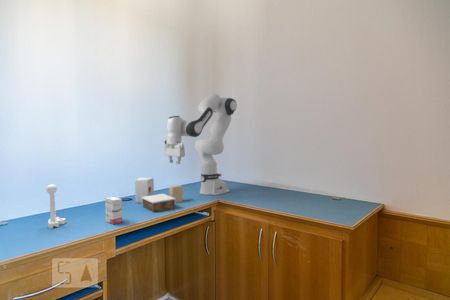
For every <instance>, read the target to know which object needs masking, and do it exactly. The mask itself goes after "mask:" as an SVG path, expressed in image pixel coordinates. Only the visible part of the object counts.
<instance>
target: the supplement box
mask: <svg viewBox="0 0 450 300" xmlns="http://www.w3.org/2000/svg"><path fill="white" fill-rule="evenodd" d="M154 179H155V178H154V177H138V178H135V179H134V191H135V192H134V196H135V197H134V199H135V203H137V204H138V203H140V204H143V199H142V197H145V196H152V195H155V187H154V186H155V184H154Z"/></svg>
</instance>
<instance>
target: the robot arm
mask: <svg viewBox="0 0 450 300" xmlns="http://www.w3.org/2000/svg"><path fill="white" fill-rule="evenodd" d="M237 105H238V104H237V101H236V100H235V99H234V98H232V97H220V95H219V94H218V93H211V94H209V95H207V96H206V97H204V99H202V100H201V101H200V103H199V104H198V105H197V110H198V112H199V114H200V115H199V116H198V117H197V118H196V119H195V120H191V121H189V120H188V121H186V120H184V119H183V118H182V117H181V116H180V115H172V116H170V117H168V119H167V125H166V126H167V128H166V130H167V138H166V139H165V140H164V141H163V144H164V154H165V156H167V157H168V160H169V163H170V164H171V163H174V160H173V157H177V161H176V164H177V165H180V164H181V160H182V158H184V157H185V155H186V151H185V145H184V143H183V142H182V140H183V139H182V137H191V138H197V137H199V136H200V135H201V134H202V131H203V129H204V128H205V126H206V125H207V123H209V120H210V119H211V118H212V116H213V115H214V113H218V114H217V117H216V119H215V120H214V122H213V123H212V125H211V127H210V129H209V133H210V136H209V138H202V139H198V140H196V141H195V143H194V150H195V151H196V153H197V154H198V158H199V160H200V164H201V165H200V166H201V169H200V170H201V174H200V182H201V184H200V190H199V194H200V195H205V196H206V195H207V196H213V195H214V196H218V195H222V194H226V193H229V192H231V191H230V189H228V188H227V184H226V182H225V181H223V180H222V179H221V178H220V177H222V173H218V167H217V166H218V165H217V162H216V160H215V159H214V156H216V155H221V154H222V152H223V151H224V148H225V146H224V143H223V139H224V136H225V134H226V132H227V130H228V129H229V128H230V127H229V126H230V124H231V121H232V115H233V114H234V113H235V111H236V110H237ZM213 155H214V156H213Z"/></svg>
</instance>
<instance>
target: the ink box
mask: <svg viewBox="0 0 450 300" xmlns="http://www.w3.org/2000/svg"><path fill="white" fill-rule="evenodd" d="M104 203H105V206H104V208H105V222H106V223H110V224H112V225H116V224H120V223H123V199H122V198H119V197H116V196H110V197H106V198H105V202H104Z"/></svg>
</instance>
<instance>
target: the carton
mask: <svg viewBox="0 0 450 300" xmlns="http://www.w3.org/2000/svg"><path fill="white" fill-rule="evenodd" d="M168 188H169V189H168V191H169V192H168V193H169V195H168V196H171V197H174V198H176V200H174V204H177V203H181V202H183V201H184V197H183V196H184V195H183V194H184V193H183V192H184V191H183V189H184V188H183V186H182V185H181V184H178V185H177V184H176V185H169V187H168Z"/></svg>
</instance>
